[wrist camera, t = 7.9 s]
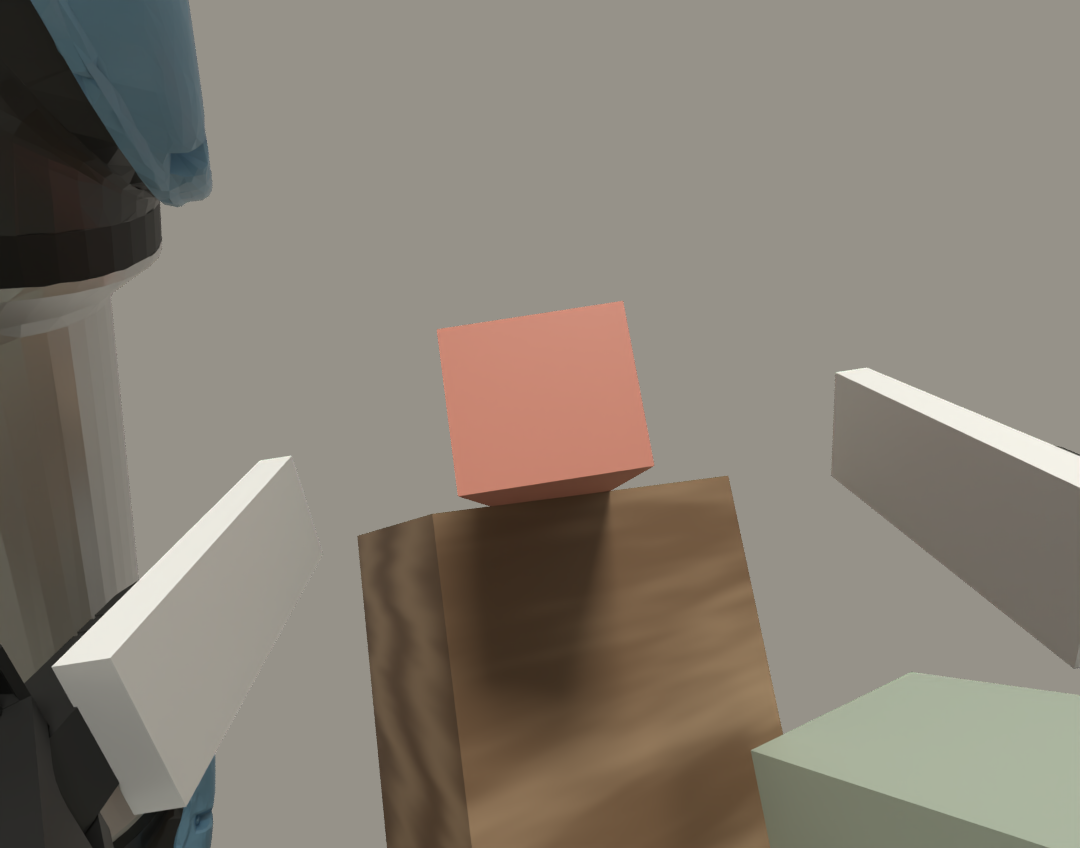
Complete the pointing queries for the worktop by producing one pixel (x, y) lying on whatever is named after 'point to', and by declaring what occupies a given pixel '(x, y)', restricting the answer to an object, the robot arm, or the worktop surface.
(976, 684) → the sage step
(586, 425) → the salmon pink bar
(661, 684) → the walnut block
